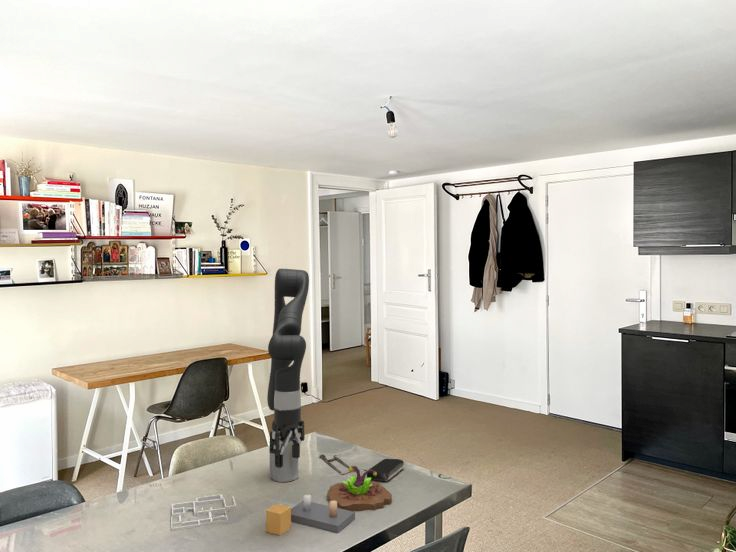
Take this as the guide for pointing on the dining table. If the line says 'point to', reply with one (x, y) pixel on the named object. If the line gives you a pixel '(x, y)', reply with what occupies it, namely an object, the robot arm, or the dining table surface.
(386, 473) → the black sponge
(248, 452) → the dining table surface
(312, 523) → the board
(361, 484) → the plant
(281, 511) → the pale orange cube
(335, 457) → the hacksaw
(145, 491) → the dining table surface
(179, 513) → the floor plan model
